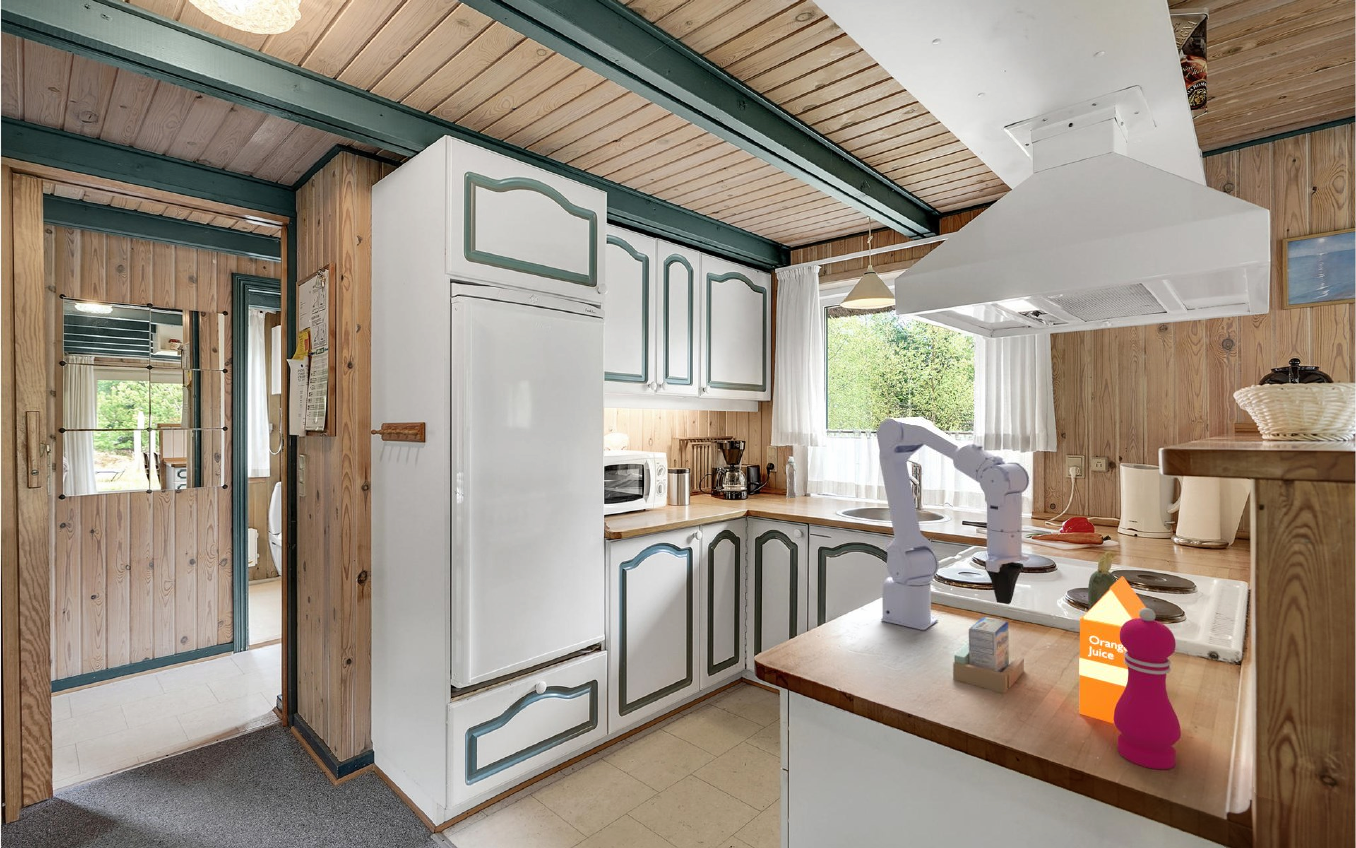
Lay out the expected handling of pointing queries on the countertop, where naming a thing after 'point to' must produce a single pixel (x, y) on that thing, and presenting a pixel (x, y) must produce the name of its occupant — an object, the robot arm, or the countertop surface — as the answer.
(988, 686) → the board
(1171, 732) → the pepper mill
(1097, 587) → the vegetable
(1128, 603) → the orange juice
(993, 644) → the medicine box
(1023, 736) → the countertop surface
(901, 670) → the countertop surface
